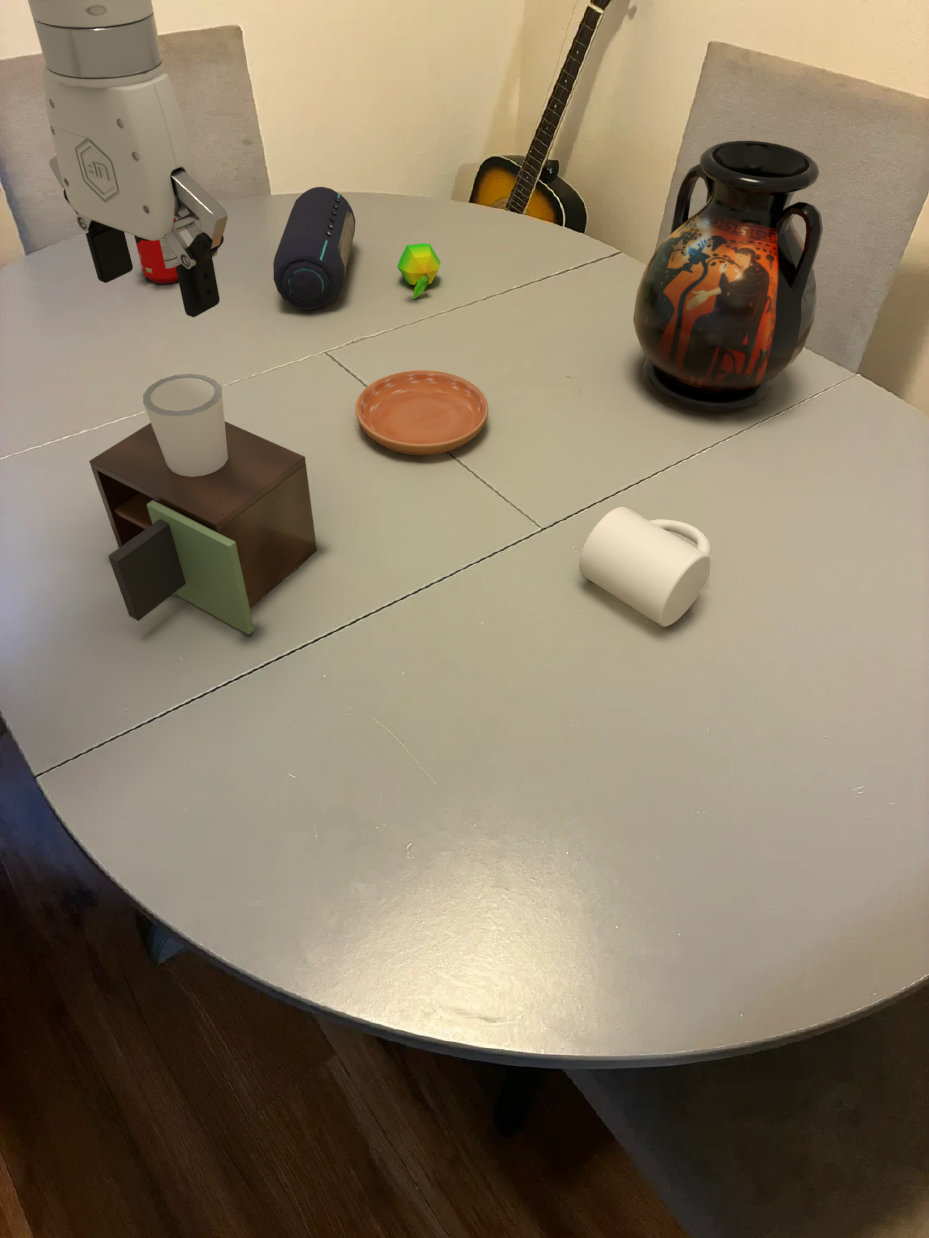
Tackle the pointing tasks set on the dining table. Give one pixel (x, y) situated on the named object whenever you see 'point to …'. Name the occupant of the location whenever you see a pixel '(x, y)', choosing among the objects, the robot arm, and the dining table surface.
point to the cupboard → (218, 500)
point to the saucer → (422, 412)
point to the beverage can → (157, 260)
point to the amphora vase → (731, 281)
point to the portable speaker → (314, 249)
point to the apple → (419, 266)
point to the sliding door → (182, 569)
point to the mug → (647, 563)
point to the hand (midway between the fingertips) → (159, 292)
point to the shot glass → (188, 423)
